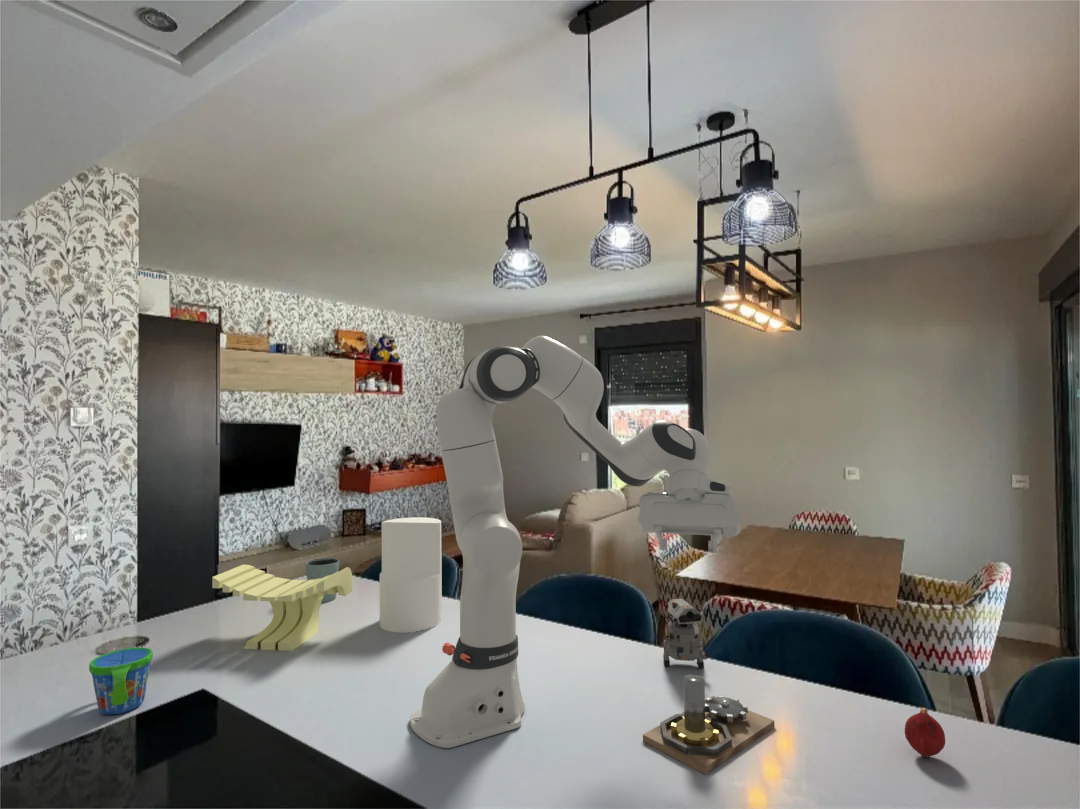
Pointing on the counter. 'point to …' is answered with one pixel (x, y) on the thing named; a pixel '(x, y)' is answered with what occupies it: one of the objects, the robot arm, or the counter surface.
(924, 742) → the onion
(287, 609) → the slatted curved stool
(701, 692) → the gear
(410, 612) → the cylinder
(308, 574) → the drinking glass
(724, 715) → the gear
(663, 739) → the gear board
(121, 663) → the snack cup
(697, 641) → the figurine
